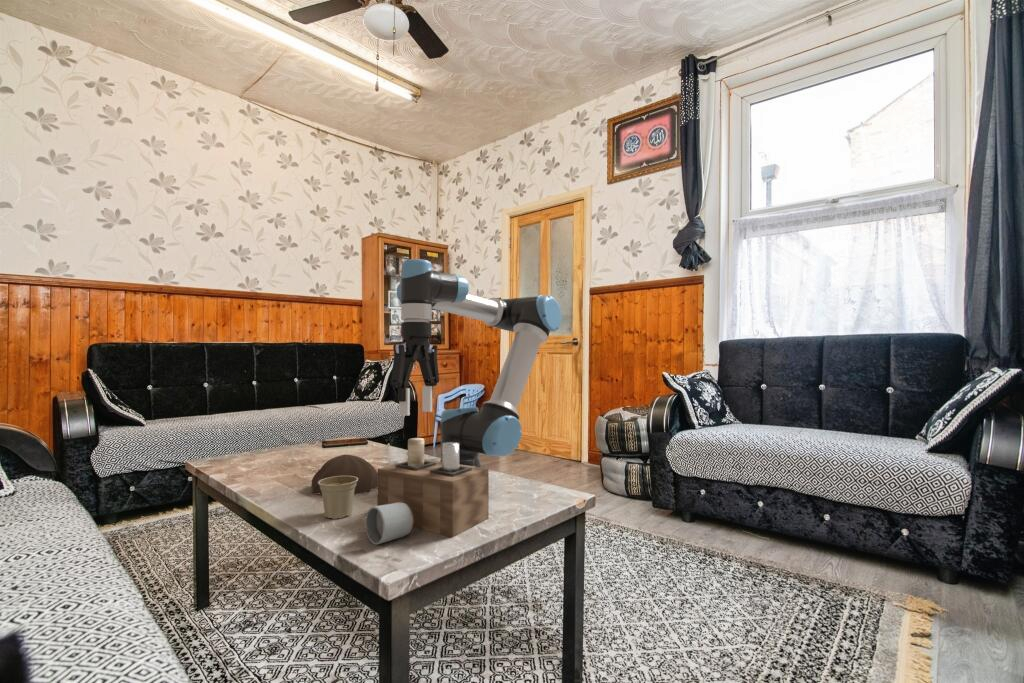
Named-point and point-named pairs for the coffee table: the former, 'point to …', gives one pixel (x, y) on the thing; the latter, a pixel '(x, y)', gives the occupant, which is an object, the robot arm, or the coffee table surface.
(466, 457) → the jar
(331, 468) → the decorative dome
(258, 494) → the coffee table surface
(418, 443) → the peg ash
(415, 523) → the walnut block
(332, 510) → the flower pot
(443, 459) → the peg steel
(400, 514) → the ceramic mug
